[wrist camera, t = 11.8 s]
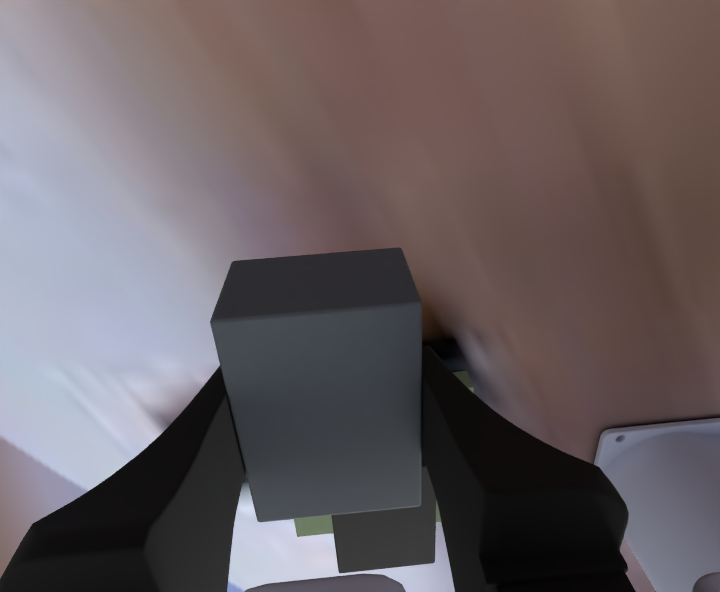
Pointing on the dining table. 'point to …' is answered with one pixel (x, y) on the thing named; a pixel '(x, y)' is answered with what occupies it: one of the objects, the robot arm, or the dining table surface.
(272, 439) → the grey block
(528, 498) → the robot arm
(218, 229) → the dining table surface
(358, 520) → the black rectangular block
